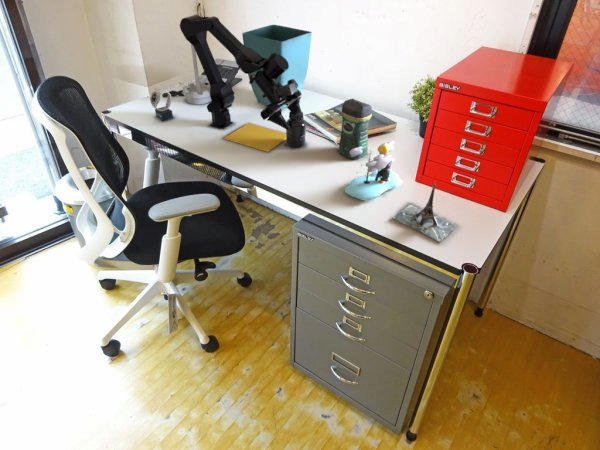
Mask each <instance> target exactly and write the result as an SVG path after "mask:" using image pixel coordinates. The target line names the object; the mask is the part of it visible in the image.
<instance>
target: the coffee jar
mask: <svg viewBox="0 0 600 450" xmlns="http://www.w3.org/2000/svg"><path fill="white" fill-rule="evenodd" d="M372 111H373V110H372V105H371V104H368V103H365V102H364V101H361V100H357V99H355V98H350V99H347V100H345V101H344V102H343V103H342V107H341V119H342V122H341V123H342V124H341V131H340V138H339V145H338V151H339V153H340V154H341V155H343V156H345V157H348V158H350V159H353V160H357V159H362V158H365V157H366V156H367V155H368V147H369V146H368V145H369V144H368V143H369V124H370V120H371V118H372V113H373V112H372ZM360 146H361V147H362V149H361V150H362V151H363V152H362V153H361V154H359V155H356V156H354V157H351V154H349V152H350V151H351V150H352V149H354V148H357V147H360Z"/></svg>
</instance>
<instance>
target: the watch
mask: <svg viewBox="0 0 600 450" xmlns="http://www.w3.org/2000/svg"><path fill="white" fill-rule="evenodd" d="M162 92H164V93H166V94H167V98H166V102H165V106H161V107H158V104H159V103H160V101H161V94H162ZM149 99H150V100H149V101H150V104H151V106H152V108H154V112H155V117H156V118H157V119H159V120H160V121H162V122H165V121H169V120H172V119H174V116H173V115H174V114H173V111H172V109H170V107H171V105H172V101H173V98H172V94H171V93H170V92H169V91H167V90H166V89H164V88H159V89H156V90H154V91H152V92H151V95H150V97H149Z"/></svg>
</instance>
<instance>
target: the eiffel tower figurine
mask: <svg viewBox="0 0 600 450" xmlns="http://www.w3.org/2000/svg"><path fill="white" fill-rule="evenodd" d="M435 188H436V181H434V184H432V189H431V192H430V195H429V198H428V201H427V203H426V204H425V206H424V207H423V209H422V208H419V207H417V206H415V205H412V204H408V205H407V206H406V207H405V208H403V209H402V210H400V212H398V213H397V214H396V215H394V216H393V217H392V219H393V220H396V221H398V222H400V223H402V224H404V225H406V226H408V227H410V228H412V229H414V230H416V231H418V232H420V233H422V234H424V235H426V236H428V237H429V238H431V239H433V240H435V241H437V242H438V243H441V242H442V241H443V240H445V238H446V237H447V236H449V234H450V233H452V231H453V230H454V229H455V228H456V227H457V226H458V224H457V223H454V222H451V221H449V220H446V219H445V218H442V217H440V216H438V215H436V214H434V211H433V208H434V206H433V204H434V196H435V190H436V189H435Z"/></svg>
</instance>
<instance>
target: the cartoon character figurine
mask: <svg viewBox="0 0 600 450" xmlns="http://www.w3.org/2000/svg"><path fill="white" fill-rule="evenodd" d="M394 145H395V142H394V140H391V141H387V142H384V143H382V144H381V145H379V146H377V152H378V153H379V154H378V155H377V154H375V155H374V157H373V159H371V156H367V157H366V160H367V162H365V167H366V168H367V169H366V172H365V174H364V176H356V177H355V178H354V179H352V180H351V181H349V183H348V185H347V186H346V187H345V188H344V192H345V194H346V195H349V196H351V197H353V198H356V199H358V200H361V201H368V200H372V199H373V200H374V199H375V198H378V197H379V196H381V195H383V193H385V192H387V191H389V190H391V189H395V188H397V187H399V186H400V185H402V184H403V180H402V179H401V178H400V177H399V175H398V174H397V173H396V172H394V171H392V170H391V169H392V168H393V167H392V163H394V161H395V160H396V159H395V158H393V155H392V154H389V153H390V152H393V150H394V149H395V146H394ZM361 149H362V147H361V146H360V147H357V148H354V149H352V150H351V151H350V152H349V154H351V157H354V156H356V155H359V154H361V153H362V152H363V151H362V150H361ZM372 153H373V151H372V150H369V154H372ZM360 167H363V163H361V164H360ZM355 174H359V172H358V171H356V172H355Z"/></svg>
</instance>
